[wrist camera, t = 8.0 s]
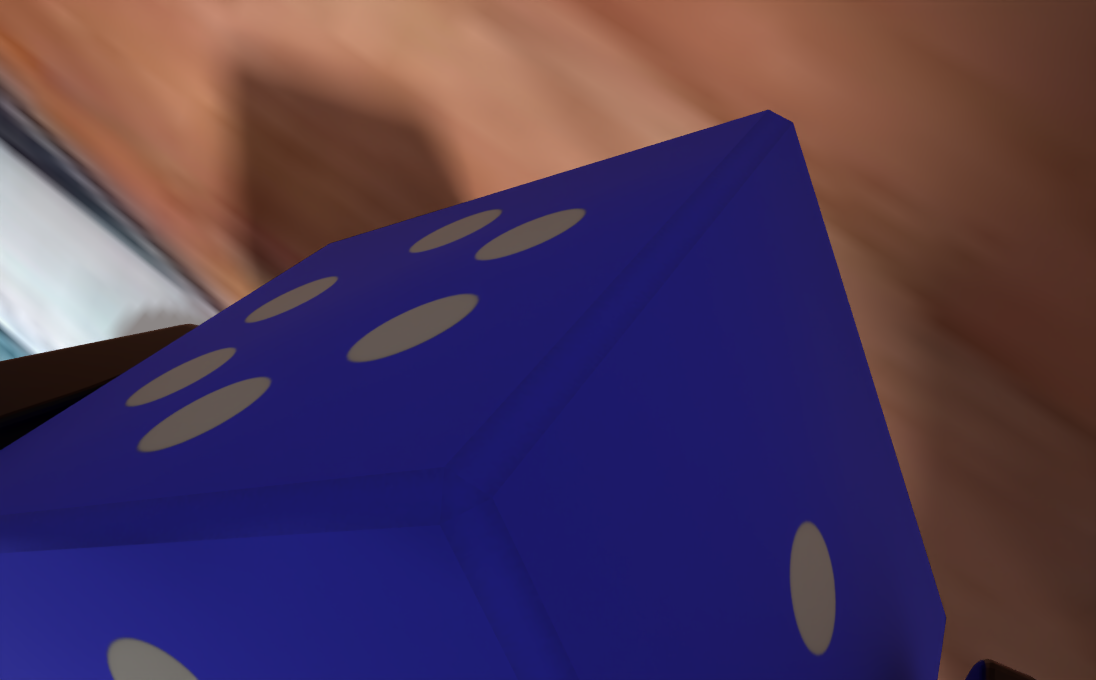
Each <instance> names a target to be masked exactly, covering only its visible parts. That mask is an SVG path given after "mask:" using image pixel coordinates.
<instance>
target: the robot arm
mask: <svg viewBox="0 0 1096 680" xmlns="http://www.w3.org/2000/svg"><path fill="white" fill-rule="evenodd" d="M196 327H198V325H194V324H184V325H178V326H173V327H168V328H164V329H158V330H154V331H149V332H144V333H139V334H134V335H129V336H124V337H119V338H114V339H109V340H104V341H99V342H94V343H89V344H84V345H79V346H74V347H69V348H64V349H59V350H54V351H49V352H44V353H39V354H34V355H29V356H24V357H19V358H14V359H9V360H4V361H0V450H2V449H3V448H5V447H7V446H8V445H10V444H11V443H13V442H14V441H16V440H18V439H19V438H21V437H22V436H24V435H26V434H27V433H29V432H30V431H32V430H34V429H35V428H37V427H38V426H40V425H42V424H43V423H45V422H46V421H48V420H50V419H51V418H53V417H54V416H56V415H57V414H59V413H61V412H62V411H64V410H65V409H67V408H69V407H70V406H72V405H73V404H75V403H77V402H78V401H80V400H81V399H83V398H85V397H86V396H88V395H89V394H91V393H93V392H94V391H96V390H97V389H99V388H100V387H102V386H104V385H105V384H107V383H108V382H110V381H112V380H113V379H115V378H116V377H118V376H120V375H121V374H123V373H124V372H126V371H128V370H129V369H131V368H132V367H134V366H135V365H137V364H139V363H140V362H142V361H143V360H145V359H147V358H148V357H150V356H151V355H153V354H155V353H156V352H158V351H159V350H161V349H163V348H164V347H166V346H167V345H169V344H171V343H172V342H174V341H175V340H177V339H178V338H180V337H182V336H183V335H185V334H186V333H188V332H190V331H191V330H193V329H194V328H196ZM965 680H1036V679H1034V678H1033V677H1031V676H1028V675H1026V674H1024V673H1021V672H1019V671H1017V670H1014V669H1012V668H1010V667H1007V666H1005V665H1002V664H1000V663H998V662H995V661H993V660H989V659H985V660H980V661H979V662H977V663H976V664H975V665H974V666H973V668H972V669H971V670H970V672H969V674H968V675H967V677H966V679H965Z"/></svg>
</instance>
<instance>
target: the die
mask: <svg viewBox="0 0 1096 680" xmlns="http://www.w3.org/2000/svg"><path fill="white" fill-rule="evenodd" d="M945 624H946V615H945V612H944V609H943V605H942V602H941V599H940V596H939V592H938V589H937V586H936V583H935V580H934V576H933V573H932V570H931V567H930V563H929V560H928V557H927V554H926V550H925V547H924V544H923V541H922V538H921V534H920V531H919V528H918V525H917V521H916V518H915V515H914V512H913V508H912V505H911V502H910V499H909V496H908V492H907V489H906V486H905V483H904V479H903V476H902V473H901V470H900V466H899V463H898V460H897V457H896V454H895V450H894V447H893V444H892V441H891V437H890V434H889V431H888V428H887V424H886V421H885V418H884V415H883V412H882V408H881V405H880V402H879V399H878V395H877V392H876V389H875V386H874V382H873V379H872V376H871V373H870V370H869V366H868V363H867V360H866V357H865V353H864V350H863V347H862V344H861V340H860V337H859V334H858V331H857V328H856V324H855V321H854V318H853V315H852V311H851V308H850V305H849V302H848V298H847V295H846V292H845V289H844V286H843V282H842V279H841V276H840V273H839V269H838V266H837V263H836V260H835V256H834V253H833V250H832V247H831V244H830V240H829V237H828V234H827V231H826V227H825V224H824V221H823V218H822V215H821V211H820V208H819V205H818V202H817V198H816V195H815V192H814V189H813V185H812V182H811V179H810V176H809V173H808V169H807V166H806V163H805V160H804V156H803V153H802V150H801V147H800V143H799V140H798V137H797V134H796V131H795V127H794V124H793V122H791V121H789V120H787V119H785V118H783V117H782V116H780V115H778V114H776V113H774V112H772V111H770V110H766V111H762V112H759V113H756V114H753V115H749V116H746V117H743V118H739V119H736V120H733V121H730V122H726V123H723V124H720V125H717V126H713V127H710V128H707V129H703V130H700V131H697V132H694V133H690V134H687V135H684V136H680V137H677V138H674V139H671V140H667V141H664V142H661V143H658V144H654V145H651V146H648V147H644V148H641V149H638V150H635V151H631V152H628V153H625V154H622V155H618V156H615V157H612V158H608V159H605V160H602V161H599V162H595V163H592V164H589V165H586V166H582V167H579V168H576V169H572V170H569V171H566V172H563V173H559V174H556V175H553V176H549V177H546V178H543V179H540V180H536V181H533V182H530V183H527V184H523V185H520V186H517V187H513V188H510V189H507V190H504V191H500V192H497V193H494V194H491V195H487V196H484V197H481V198H477V199H474V200H471V201H468V202H464V203H461V204H458V205H455V206H451V207H448V208H445V209H441V210H438V211H435V212H432V213H428V214H425V215H422V216H418V217H415V218H412V219H409V220H405V221H402V222H399V223H396V224H392V225H389V226H386V227H382V228H379V229H376V230H373V231H369V232H366V233H363V234H360V235H356V236H353V237H350V238H346V239H343V240H340V241H337V242H333V243H330V244H328V245H327V246H325V247H323V248H322V249H320V250H319V251H317V252H315V253H314V254H312V255H311V256H309V257H307V258H306V259H304V260H303V261H301V262H299V263H298V264H296V265H295V266H293V267H292V268H290V269H288V270H287V271H285V272H284V273H282V274H280V275H279V276H277V277H276V278H274V279H272V280H271V281H269V282H268V283H266V284H264V285H263V286H261V287H260V288H258V289H257V290H255V291H253V292H252V293H250V294H249V295H247V296H245V297H244V298H242V299H241V300H239V301H237V302H236V303H234V304H233V305H231V306H229V307H228V308H226V309H225V310H223V311H221V312H220V313H218V314H217V315H215V316H214V317H212V318H210V319H209V320H207V321H206V322H204V323H202V324H201V325H199V326H198V327H196V328H194V329H193V330H191V331H190V332H188V333H186V334H185V335H183V336H182V337H180V338H178V339H177V340H175V341H174V342H172V343H171V344H169V345H167V346H166V347H164V348H163V349H161V350H159V351H158V352H156V353H155V354H153V355H151V356H150V357H148V358H147V359H145V360H143V361H142V362H140V363H139V364H137V365H135V366H134V367H132V368H131V369H129V370H128V371H126V372H124V373H123V374H121V375H120V376H118V377H116V378H115V379H113V380H112V381H110V382H108V383H107V384H105V385H104V386H102V387H100V388H99V389H97V390H96V391H94V392H93V393H91V394H89V395H88V396H86V397H85V398H83V399H81V400H80V401H78V402H77V403H75V404H73V405H72V406H70V407H69V408H67V409H65V410H64V411H62V412H61V413H59V414H57V415H56V416H54V417H53V418H51V419H50V420H48V421H46V422H45V423H43V424H42V425H40V426H38V427H37V428H35V429H34V430H32V431H30V432H29V433H27V434H26V435H24V436H22V437H21V438H19V439H18V440H16V441H14V442H13V443H11V444H10V445H8V446H7V447H5V448H3V449H2V450H0V680H937V679H938V672H939V665H940V658H941V651H942V644H943V637H944V630H945Z"/></svg>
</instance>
